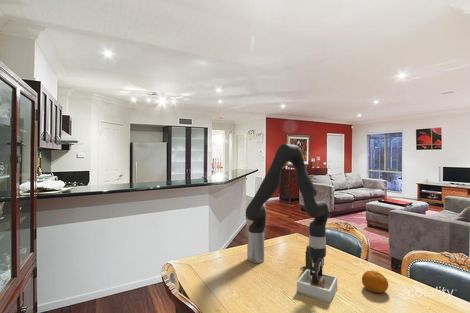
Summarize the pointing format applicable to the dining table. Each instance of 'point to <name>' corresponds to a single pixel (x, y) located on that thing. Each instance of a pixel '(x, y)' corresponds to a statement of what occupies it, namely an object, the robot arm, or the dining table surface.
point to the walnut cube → (318, 282)
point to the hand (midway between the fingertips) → (317, 279)
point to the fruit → (374, 281)
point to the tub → (315, 291)
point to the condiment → (307, 260)
